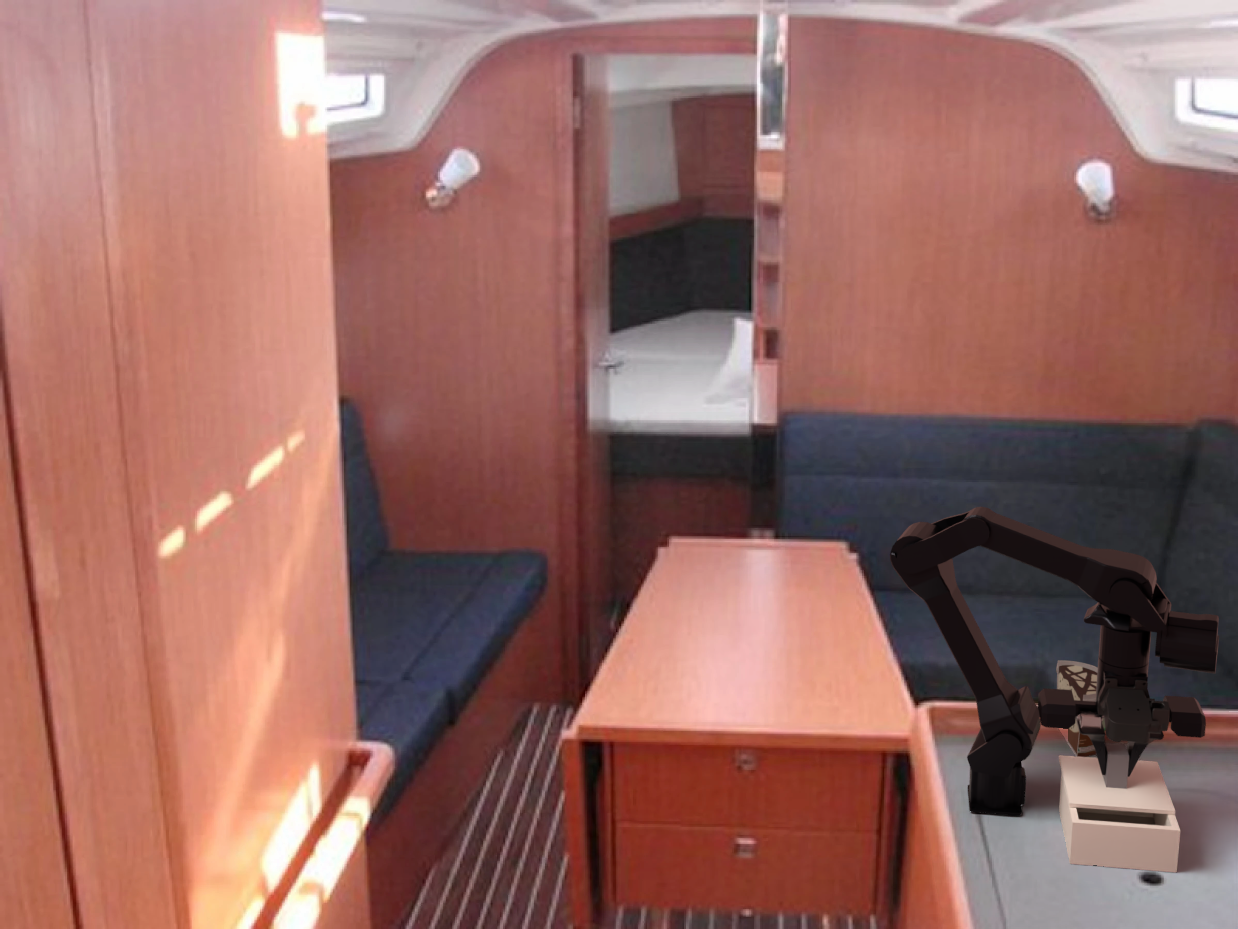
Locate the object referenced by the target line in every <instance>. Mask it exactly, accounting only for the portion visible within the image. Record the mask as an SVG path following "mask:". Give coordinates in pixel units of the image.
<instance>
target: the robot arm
mask: <svg viewBox="0 0 1238 929" xmlns="http://www.w3.org/2000/svg"><path fill="white" fill-rule="evenodd" d="M977 547H981V548H983V549H987V550H989V551H991V552H995V553H997V554H999V555H1002V556H1003V557H1004V556H1005V557H1006V558H1009V559H1012V560H1015V561H1017V562H1018V563H1019V562H1020V563H1022V564H1025V565H1027V566H1030V567H1032V568H1034V569H1035V568H1036V569H1038V570H1039V571H1043V572H1045V573H1047V574H1050V575H1053V576H1055V577H1057V578H1060V579H1063V580H1066V581H1068V582H1070V583H1071V584H1073V585H1075V586H1077V587H1078V588H1079V590H1081V591H1082V592H1084V594H1085V595H1087V596H1088V597H1089V598H1090V599H1092V600H1094V602H1097V603H1096V604H1094V605H1093V606H1090V607H1089V608H1087V609H1086V612H1085V614H1084V617H1083V623H1085V624H1088V625H1096V626H1100V631H1099V632H1100V633H1099V646H1098V660H1097V667H1098V671H1097V686H1096V701H1078V700H1074V697H1073V693H1072V690H1064V689H1057V688H1047V687H1045V688H1042V689H1041V690H1040V692H1038V697H1037V700H1038V701H1037V704H1036V703H1035V700H1034V699H1033V697H1032V692H1031V689H1030V688H1029V686H1028V685H1025V686H1023V687H1021V688H1019V689H1018V688H1017V687H1015V686H1014V685H1013V684H1012V683H1010V682H1009V681H1008V680H1007V679H1006V676H1005V674H1004V673H1003V671H1002V668H1001V667H1000V665H999V663H998V661H997V659H996V657H995V655H994V653H993V652H992V650H991V648H990V646H989V643H988V642H987V640H986V638H985V636H984V635H983V632H982V630H981V629H980V627H979V625H978V622H977V621H976V619H975V616H974V615H973V613H972V611H971V609H970V607H969V606H968V604H967V601H966V600H965V597H964V596H963V593H962V591H961V590H960V588H959V586H958V584H957V579H956V572H955V566H954V560H953V559H954V558H955V557H957V556H959V555H961V554H963V553H965V552H967V551H969V550H971V549H974V548H977ZM889 560H890V563H891V566H892V568H893V569H894V571H895V573H896V574H897V575H898V576H899V578H900V579H901V581H902V582H903V583H904V584H905V586H906V587H907V588H908V589H909V590H910V591H912V592H913V593H914V594H915V595H916V596H918V597H919V599H921V600H922V601H923V602H924V603H925V604H926V606H927V608H928V610H929V612H930V614H931V615H932V617H933V619H934V621H935V623H936V626H937V627H938V629H939V631H940V633H941V635H942V636H943V639H944V640H945V643H946V644H947V647H948V648H949V650H950V653H951V654H952V656H953V658H954V660H955V662H956V664H957V666H958V667H959V669H960V672H961V674H962V676H963V677H964V679H965V681H966V683H967V685H968V686H969V689H970V690H971V691H970V692H972V695H973V696H974V699H975V701H976V708H977V714H978V715H977V716H978V721H979V726H980V728H979V731H978V733H977V735H976V737H975V739H974V741H973V744H972V746H971V748H970V750H969V752H968V754H967V757H966V759H967V762H968V764H969V781H968V782H969V784H968V785H967V800H968V810H969V812H970V811H971V812H970V813H973V812H981V813H980V814H985V813H989V814H990V815H1002V816H1012V817H1013V816H1014V817H1015V816H1016V817H1021V816H1022V814H1023V810H1022V809H1023V808H1022V806H1024V805H1025V803H1026V790H1027V789H1026V787H1027V775H1026V769H1025V767H1024V766H1023V764H1022V762H1023V761H1025V760H1027V758H1028V757H1030V755H1031V753H1032V750H1033V748H1034V746H1035V743H1036V741H1037V737H1038V734H1039V732H1040V730H1041V726H1043V727H1045V728H1048V729H1050V728H1051V729H1052V728H1053V729H1058V728H1063V729H1069V728H1070V727H1071V726H1073V725H1074V724H1075V722H1076V721H1077V725H1078V730H1079V733H1080V734H1082V735H1088V736H1089V738H1090V739H1091V741H1092V743H1093V746H1094V748H1095V751H1096V754H1095V755H1096V758H1098V762H1099V765H1100V769H1101V773H1102V775H1106V752H1105V743H1106V742H1105V741H1106V738H1107V739H1108V740H1109V741H1112V742H1114V743H1115V742H1117V743H1120V742H1127V744H1126V748H1127V751H1128V754H1129V765H1128V777H1129V776H1130V775H1131V773H1132V771H1133V769H1134V767H1135V765H1136V763H1137V761H1139V759H1140V757H1141V756H1142V754H1143V753H1144V750H1145V749H1146V748H1147V747H1148V745H1149V744H1151V743H1152V742H1154V741H1162V740H1163V739H1164V738H1165V734H1164V732H1167V731H1168V730H1169V725H1170V730H1171V731H1172V732H1173V733H1174V734H1175V735H1176V736H1177V737H1186V738H1188V737H1189V738H1204V737H1205V736H1206V727H1207V721H1206V716H1205V712H1204V711H1203V709H1202V706H1201V704H1200V701H1199V700H1197V699H1196V698H1195V697H1194V696H1179V695H1178V696H1177V695H1175V696H1174V695H1164V697H1163V698H1162V699H1163V700H1162V701H1161V700H1156V699H1155V698H1151V696H1150V693H1149V689H1148V685H1149V683H1148V679H1149V675H1148V674H1149V664H1150V653H1151V652H1150V651H1151V640H1152V639H1151V638H1152V633H1156V636H1155V638H1156V639H1155V649H1154V656H1155V658H1159V664H1163V666H1164V667H1166V668H1173V669H1179V670H1188V671H1193V672H1194V671H1195V672H1199V673H1208V674H1216V669H1217V661H1218V660H1217V659H1218V653H1219V652H1218V650H1219V643H1220V642H1219V640H1220V636H1219V634H1218V632H1219V631H1218V630H1219V620H1220V619H1219V616H1218V615H1216V614H1209V613H1203V614H1196V613H1191V612H1189V613H1188V612H1182V611H1181V612H1180V611H1173V610H1172V602H1171V600H1170V599H1169V598H1168V597H1167V596H1166V594H1165V592H1164V591H1163V590H1162V588H1161V586H1160V585H1159V583H1158V582H1157V572H1156V569H1155V567H1154V566H1153V565H1152V562H1151V561H1150V560H1149V559H1147V557H1144V556H1143V555H1139V554H1136V553H1131V552H1127V551H1122V550H1117V549H1113V548H1096V547H1095V548H1093V547H1087V546H1083V545H1080V544H1077V543H1075V542H1072V541H1069V540H1067V539H1065V538H1063V537H1060V536H1057V535H1055V534H1052V533H1050V532H1046V531H1043V530H1041V529H1038V528H1036V527H1033V526H1030V525H1028V524H1025V523H1022V522H1020V521H1018V520H1015V519H1013V518H1010V517H1007V516H1004V515H1002V514H999V513H997V512H994V511H993V510H992V509H990V508H988V507H986V506H985V507H984V506H976V507H974V508H972V509H970V510H969V511H966V512H963V513H959V514H955V515H951V516H947V517H944V518H942V519H939V520H936V521H934V522H932V523H930V522H928V521H927V522H926V521H917V522H914V523H912V524H910V525H909V526H908V527H907V528H906V529H905V530H904V531H903V533H902V534H901V535H900V536H899V538H897V539H896V541H895V542H894V544H893V545H892V547H891V550H890V554H889ZM1103 718H1104V721H1105V729H1106V733H1105V731H1104V728H1103V724H1102V722H1103ZM989 814H988V815H989Z"/></svg>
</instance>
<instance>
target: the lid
mask: <svg viewBox="0 0 1238 929" xmlns="http://www.w3.org/2000/svg"><path fill="white" fill-rule="evenodd" d="M1105 752H1106V775H1102V773H1101V769H1100V765H1099V762H1098V758H1097V757H1092V756H1088V757H1077V756H1076V755H1075V756H1074V755H1061V754H1060V755H1058V761H1059V762H1058V763H1059V766H1060V771H1061V772H1062V776H1063V781H1064V785H1065V790H1066V794H1067V799H1068V803H1069V807H1077V808H1091V809H1104V810H1118V811H1132V812H1145V813H1159V814H1172V815H1175V816H1176V809H1175V806H1174V804H1173V801H1172V798H1171V796H1170V795H1171V794H1170V793H1169V789H1168V787H1167V785H1166V782H1165V779H1164V776H1163V773H1162V771H1161V768H1160V765H1159V762H1158V761H1154V760H1153V761H1151V760H1138V761H1137V763H1136V765H1135V767H1134V769H1133V771H1132V773H1131V775H1130V776H1129V777H1128V765H1129V754H1128V751H1127V744H1126V743H1115V742H1114V743H1111V742H1105Z"/></svg>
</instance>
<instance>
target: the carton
mask: <svg viewBox="0 0 1238 929" xmlns="http://www.w3.org/2000/svg"><path fill="white" fill-rule="evenodd" d="M1060 774H1061V775H1060V776H1061V777H1060V791H1059V804H1058V805H1059V807H1058V813H1059V812H1060V813H1059V818H1060V822H1061V828H1062V831H1063V837H1065V838H1064V841H1065V842H1066V843H1065V846H1066V851H1067V852H1066V853H1067V856H1068V861H1069V865H1078V866H1079V865H1081V866H1092V867H1094V866H1093V865H1097V866H1096V867H1103V866H1104V868H1106V867H1107V868H1117V869H1129V870H1141V871H1152V872H1153V871H1154V872H1165V873H1166V872H1167V873H1176V872H1178V860H1179V851H1180V850H1179V849H1180V839H1181V828H1180V826H1179V822H1178V820H1177V818H1176V814H1175V815H1172V814H1159V813H1145V812H1132V811H1118V810H1104V809H1091V808H1077V807H1069V803H1068V799H1067V794H1066V790H1065V785H1064V781H1063V776H1062V772H1061V773H1060Z"/></svg>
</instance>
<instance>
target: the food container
mask: <svg viewBox="0 0 1238 929" xmlns="http://www.w3.org/2000/svg"><path fill="white" fill-rule="evenodd" d="M1097 671H1098V666H1095V665H1092V664H1089V663H1085V662H1081V661H1073V660H1064V659H1063V660H1061V659H1060V660H1057V663H1056V670H1055V673H1057V675H1056V689H1064V690H1072V693H1073V697H1074V700H1078V701H1096V686H1097ZM1102 724H1103V728H1104V731H1105V734H1106V729H1105V721H1104V718H1103V722H1102ZM1067 745H1068V746H1069V748H1070V749H1071V751H1072V753H1073V754H1074V755H1075V756H1077V757H1092V756H1095V755H1097V754H1096V751H1095V748H1094V746H1093V743H1092V741H1091V739H1090V738H1089V736H1088V735H1082V734H1080V733H1079V730H1078V725H1077V721H1076V722H1075V724H1074V725H1073V726H1071V727H1070V728H1069V729H1068V743H1067Z"/></svg>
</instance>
